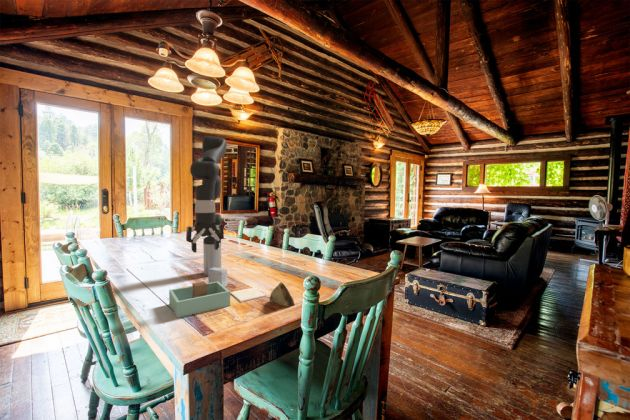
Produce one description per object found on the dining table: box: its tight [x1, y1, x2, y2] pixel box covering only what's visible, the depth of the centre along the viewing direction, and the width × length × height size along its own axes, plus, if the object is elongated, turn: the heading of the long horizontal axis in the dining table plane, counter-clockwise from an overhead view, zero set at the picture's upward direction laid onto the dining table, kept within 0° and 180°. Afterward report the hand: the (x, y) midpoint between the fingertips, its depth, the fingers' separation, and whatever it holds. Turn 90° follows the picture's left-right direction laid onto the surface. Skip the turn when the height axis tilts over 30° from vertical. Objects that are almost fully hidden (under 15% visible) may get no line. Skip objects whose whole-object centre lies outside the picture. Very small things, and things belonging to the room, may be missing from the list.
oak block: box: [191, 280, 207, 298], centre depth 117 cm, size 4×4×9 cm
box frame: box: [168, 281, 231, 319], centre depth 117 cm, size 15×20×6 cm
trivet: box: [230, 286, 267, 303], centre depth 129 cm, size 12×12×1 cm
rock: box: [269, 282, 296, 307], centre depth 121 cm, size 11×9×10 cm
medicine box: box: [207, 267, 228, 288], centre depth 138 cm, size 8×4×9 cm, turn 71°
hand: (205, 250), depth 116 cm, fingers open, 8 cm apart
